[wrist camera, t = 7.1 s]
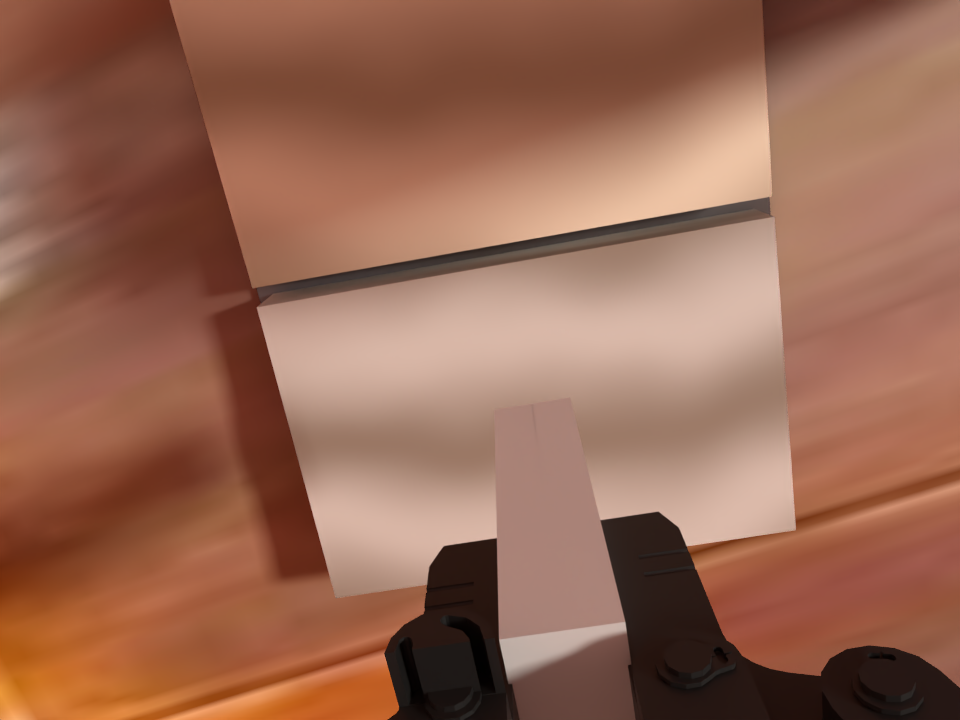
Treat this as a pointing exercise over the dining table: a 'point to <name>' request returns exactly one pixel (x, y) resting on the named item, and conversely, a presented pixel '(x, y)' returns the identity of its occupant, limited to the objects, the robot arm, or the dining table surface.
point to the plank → (540, 389)
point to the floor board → (471, 125)
